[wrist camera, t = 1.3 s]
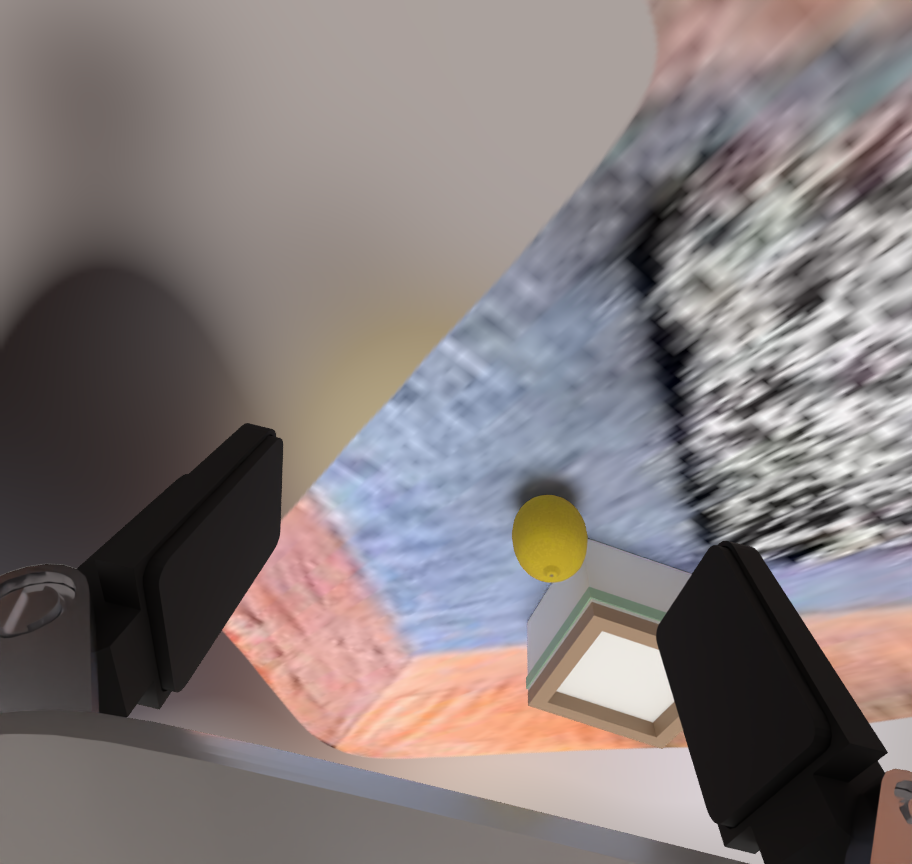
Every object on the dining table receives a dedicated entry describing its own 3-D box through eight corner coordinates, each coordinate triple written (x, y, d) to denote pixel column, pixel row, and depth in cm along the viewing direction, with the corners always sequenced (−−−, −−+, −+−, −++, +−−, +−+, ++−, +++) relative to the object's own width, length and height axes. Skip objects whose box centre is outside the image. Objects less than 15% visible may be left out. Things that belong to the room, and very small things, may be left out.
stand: (712, 580, 40) (753, 667, 33) (641, 660, 46) (662, 749, 39) (580, 534, 39) (593, 614, 32) (525, 622, 45) (526, 705, 38)
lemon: (537, 464, 37) (541, 531, 30) (595, 496, 37) (611, 570, 31) (500, 510, 39) (495, 581, 32) (554, 539, 40) (561, 615, 33)
